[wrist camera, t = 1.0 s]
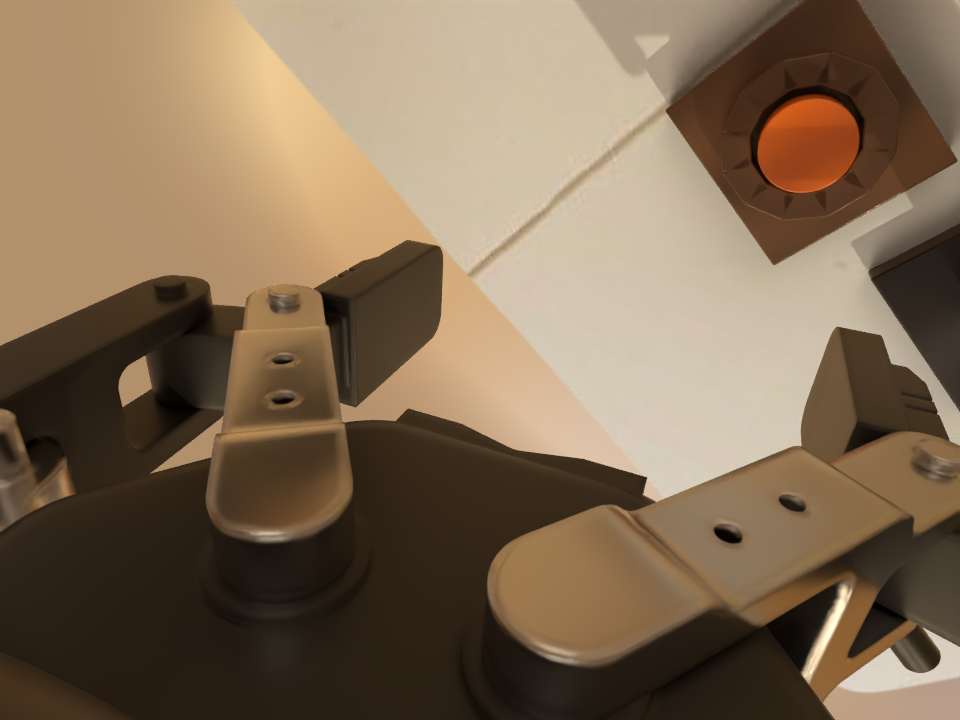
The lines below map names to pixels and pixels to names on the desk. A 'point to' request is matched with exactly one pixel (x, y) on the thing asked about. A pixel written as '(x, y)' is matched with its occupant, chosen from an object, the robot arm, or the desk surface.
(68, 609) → the robot arm
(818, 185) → the button
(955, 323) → the lever bracket
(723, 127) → the button block
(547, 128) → the desk surface
